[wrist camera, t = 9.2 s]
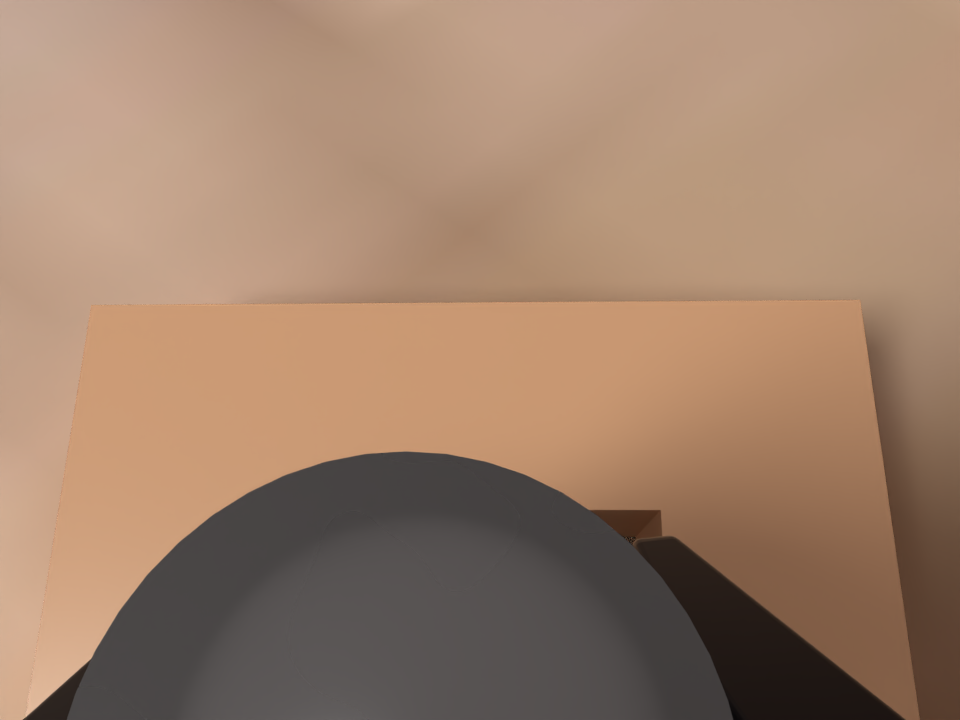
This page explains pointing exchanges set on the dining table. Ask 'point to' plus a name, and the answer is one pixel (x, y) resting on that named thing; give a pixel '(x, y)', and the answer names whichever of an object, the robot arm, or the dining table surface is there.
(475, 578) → the cylinder
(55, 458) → the dining table surface
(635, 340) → the docking socket
